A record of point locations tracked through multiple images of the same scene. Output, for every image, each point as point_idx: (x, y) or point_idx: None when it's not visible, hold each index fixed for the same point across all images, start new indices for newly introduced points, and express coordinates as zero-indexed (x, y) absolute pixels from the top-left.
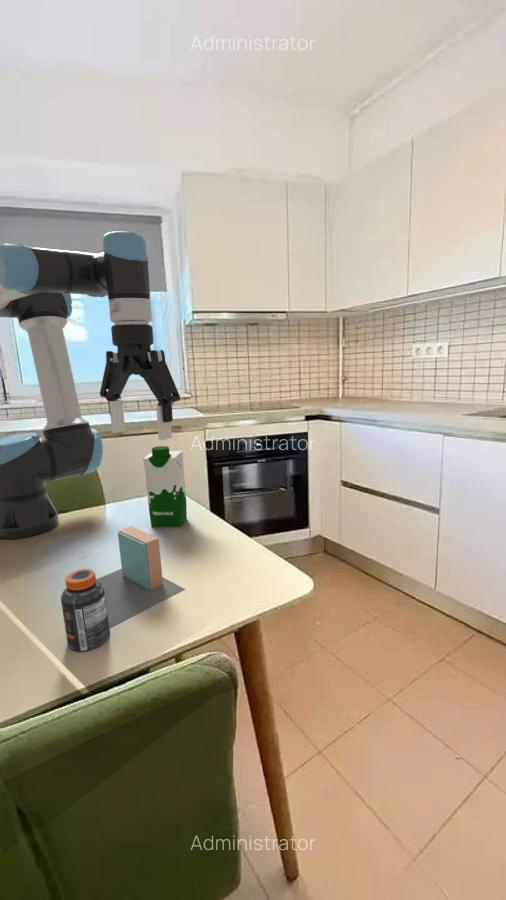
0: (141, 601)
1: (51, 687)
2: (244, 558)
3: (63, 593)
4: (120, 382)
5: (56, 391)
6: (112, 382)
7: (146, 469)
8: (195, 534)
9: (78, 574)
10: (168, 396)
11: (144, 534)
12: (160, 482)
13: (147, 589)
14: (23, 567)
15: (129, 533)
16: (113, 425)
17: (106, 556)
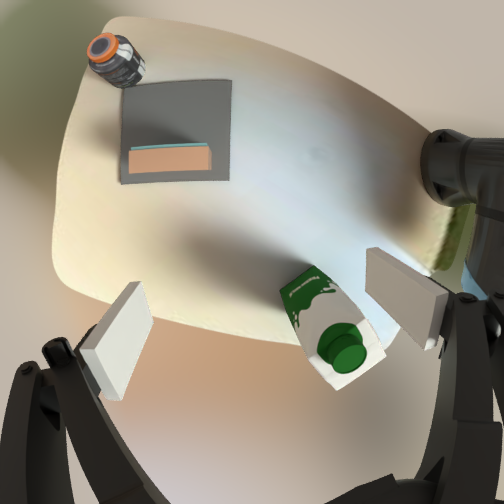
0: (138, 134)
1: None
2: None
3: (116, 36)
4: (446, 396)
5: None
6: (487, 358)
7: (352, 310)
8: (247, 294)
9: (102, 44)
10: (20, 377)
11: (157, 165)
12: (317, 310)
13: None
14: (348, 94)
15: (181, 151)
16: (381, 257)
17: (291, 172)
